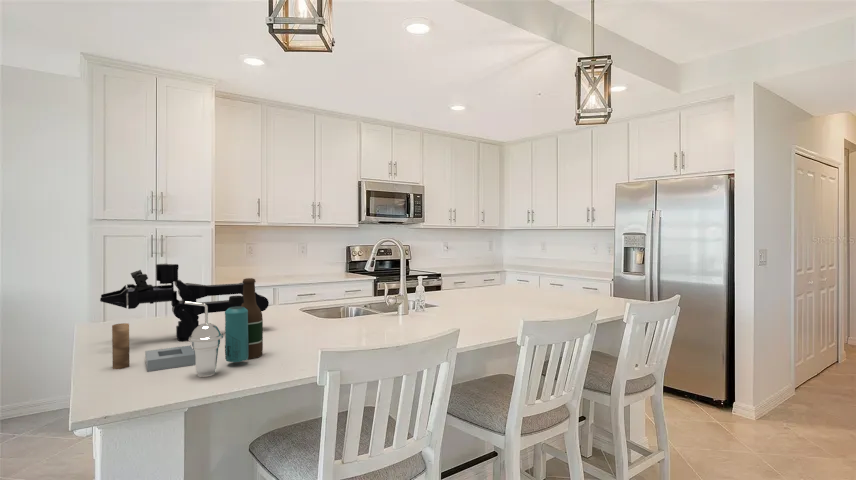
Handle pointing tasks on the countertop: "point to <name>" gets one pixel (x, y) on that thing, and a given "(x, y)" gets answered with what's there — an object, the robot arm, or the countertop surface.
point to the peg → (120, 345)
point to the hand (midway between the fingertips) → (100, 297)
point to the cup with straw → (205, 345)
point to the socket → (169, 358)
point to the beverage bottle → (236, 331)
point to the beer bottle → (253, 319)
